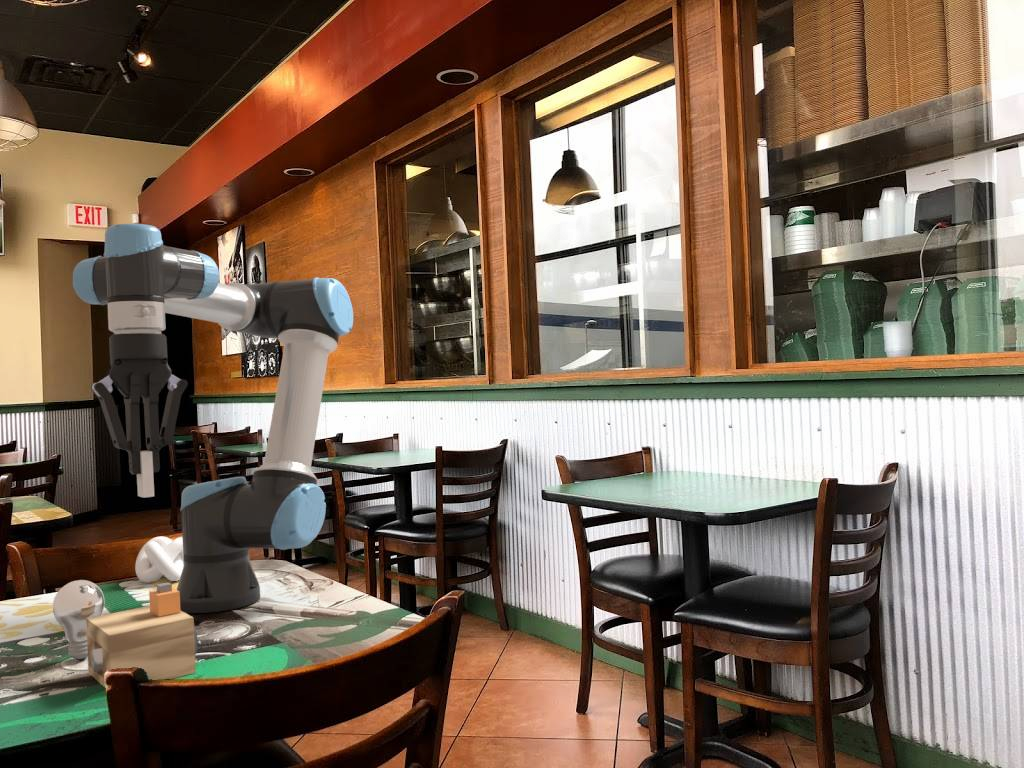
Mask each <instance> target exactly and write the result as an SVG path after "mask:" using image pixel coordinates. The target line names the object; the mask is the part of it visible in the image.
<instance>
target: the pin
mask: <svg viewBox="0 0 1024 768" xmlns="http://www.w3.org/2000/svg"><path fill="white" fill-rule="evenodd" d="M194 640H195V656H196V655H197V652H198V644H199V643H198V642H199V641H198V634H197V630H196V627H195V625H194ZM91 663H92V668H93V670H94V672H98V671H102V670H103V654H102V648H99V649H94V650H92V652H91Z"/></svg>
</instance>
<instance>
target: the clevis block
mask: <svg viewBox="0 0 1024 768" xmlns="http://www.w3.org/2000/svg"><path fill="white" fill-rule="evenodd" d="M194 619H195V618H194V617H193V615H192V616H191V615H190V614H188V613H187V612H182V611H181V610H180V612H179V613H174V614H170V615H165V616H160V617H159V616H157V615H155V614H153V613H152V612H150V605H147V606H140V607H136V608H135V607H134V608H130V609H127V610H121V611H117V612H112V613H111V612H110V613H105V614H101V615H100V616H95V617H90V618H86V624H87V649H88V657H87V668H88V671H87V672H88V674H89V675H90V676H91V677H93V678H94V679H95V680H96V681H97V682H98V683H99V684H100V685H101V686H102V685H103V686H102V687H103V688H104V673H105V672H106V671H107V670H111V669H116V668H132V667H138V668H142V669H144V670H146V672H147V675H148V677H149V678H150V679H152V680H158V679H169V680H173V679H176V678H180V677H185V676H187V675H192V674H196V672H197V671H196V669H197V667H196V655H195V640H194V626H195V620H194ZM99 648H102V654H103V670H102V671H98V672H94V670H93V668H92V663H91V652H92V650H94V649H99Z"/></svg>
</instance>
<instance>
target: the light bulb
mask: <svg viewBox="0 0 1024 768" xmlns="http://www.w3.org/2000/svg"><path fill="white" fill-rule="evenodd" d="M105 599H106V598H105V596H104V592H103V591H102V588H101V587H99V586H98V585H97V584H96V583H94V582H92V581H90V580H88V579H87V580H86V579H79V580H73V581H70V582H68V583H66V584H65V585H63V586H62V587H61V588H60V589H59V590H58V591H57V593H56V595H55V596H54V598H53V601H52V614H53V616H54V618H55V620H56V622H58V624H59V625H60V627H61V628H62V630H63V632H64V635H65V638H66V640H67V641H68V644H67V647H68V648H67V650H68V655H69V656H70V657H71V658H72V659H74V660H75V661H77V662H82V661H85V660H87V659H88V649H87V624H86V618H90V617H95V616H100V615H103V611H104V608H105V602H106V600H105Z"/></svg>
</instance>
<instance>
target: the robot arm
mask: <svg viewBox="0 0 1024 768" xmlns="http://www.w3.org/2000/svg"><path fill="white" fill-rule="evenodd" d="M103 251H104V253H103V256H102V255H98V256H95V257H90V258H86V259H82V260H81V261H80V262H78V263H77V264H76V265H75V266H74V270H73V272H72V287H73V289H74V291H75V293H76V295H77V296H78V298H79V299H80V300H82V301H83V302H84V303H86V304H89V305H101V306H106V305H107V320H108V321H107V322H108V324H107V325H108V331H110V332H112V333H113V334H112V335H110V337H108V339H109V341H108V343H109V358H110V359H109V360H110V361H109V362H110V365H109V368H108V369H107V372H106V375H107V376H105V377H104V378H102V379H101V380H99V381H98V382H93V383H91V385H90V390H91V391H92V392H93V393H94V395H95V396H96V397H97V398H98V400H99V404H100V406H101V409H102V413H103V416H104V419H105V422H106V425H107V430H108V431H109V435H110V436H111V441H112V444H113V446H114V447H115V448H116V449H119V450H120V449H121V450H123V451H126V452H127V453H128V466H129V468H128V469H129V473H130V475H136V485H137V497H140V498H152V497H155V483H154V480H155V479H154V473H159V472H160V469H161V461H160V460H161V459H160V450H161V449H162V448H164V447H166V446H168V445H171V444H173V441H174V435H175V430H176V424H177V419H178V415H179V409H180V405H181V399H182V395H183V393H184V392H185V390H186V389H187V387H188V386H189V385H188V383H189V382H188V380H187V379H181V378H179V377H177V376H176V375H174V374H172V369H171V367H170V365H169V364H168V343H167V341H168V340H167V336H166V335H165V334H163V333H162V332H163V331H165V330H167V329H166V327H167V326H166V314H170V315H175V316H181V317H187V318H190V319H197V320H201V321H207V322H212V323H216V324H218V325H219V326H220V327H221V328H223V329H225V330H227V331H231V332H237V333H241V334H246V335H251V336H255V337H260V338H266V339H275V340H276V339H278V342H279V343H280V344H281V345H282V346H283V352H282V353H283V354H282V359H281V364H280V368H279V369H280V371H279V374H278V375H279V376H278V380H277V381H278V382H277V388H276V392H275V398H274V404H273V409H272V410H273V411H272V415H271V416H272V417H271V420H270V421H271V422H270V425H269V426H270V427H269V431H268V438H267V439H268V440H267V444H266V449H265V454H264V455H265V456H264V460H263V464H262V465H259V467H257V468H256V469H254V470H253V474H252V479H251V484H248V481H247V479H246V476H234V477H229V478H224V479H223V478H222V479H217V480H212V481H206V482H200V483H195V484H191V485H188V486H186V487H185V488H184V489H183V490H182V492H181V502H180V504H181V505H180V510H179V511H180V516H181V517H180V519H181V531H182V532H181V533H182V534H181V535H182V536H181V537H182V539H183V557H184V565H183V570H182V573H181V577H180V580H179V581H178V584H177V587H176V590H178V591H180V610H181V611H182V612H184V613H186V614H188V613H189V614H209V613H219V612H226V611H231V610H235V609H239V608H240V609H241V608H244V607H246V606H250V605H253V604H254V603H257V601H259V600H260V599H261V586H260V583H259V581H258V578H257V576H256V573H255V570H254V568H253V564H252V562H251V559H250V552H249V551H250V550H249V549H277V550H278V549H279V550H283V551H286V550H289V549H301V548H304V547H306V546H308V545H310V544H311V543H312V542H313V541H314V540H315V539H316V538H317V536H318V535H319V533H320V532H321V529H322V526H323V524H324V521H325V519H326V508H327V504H326V502H325V500H326V497H325V493H324V491H323V490H322V488H321V487H320V486H318V485H317V483H318V478H317V476H316V475H315V474H314V472H313V471H312V469H311V468H312V462H313V455H314V449H315V445H316V444H315V442H316V437H317V430H318V429H317V428H318V423H319V417H320V410H321V404H322V397H323V391H324V386H325V378H326V371H327V366H328V365H327V364H328V358H329V355H330V354H332V353H333V352H335V351H336V350H337V349H338V345H339V340H340V337H343V336H345V335H349V333H350V331H352V329H353V324H354V310H353V305H352V302H351V298H350V295H349V293H348V291H347V289H346V287H345V286H344V285H343V283H341V281H339V280H338V279H336V278H332V277H322V278H320V277H317V276H316V277H314V278H307V279H297V280H285V281H270V282H263V283H253V284H251V283H250V284H249V283H248V284H244V283H242V282H241V283H240V282H237V281H236V282H230V283H227V284H225V283H221V282H220V271H219V267H218V265H217V263H216V262H215V260H214V259H213V258H212V257H211V256H209V255H207V254H204V253H202V252H199V251H196V250H194V249H191V250H188V249H182V248H180V247H179V248H177V247H172V246H169V245H168V246H167V245H164V241H163V239H162V233H161V230H160V229H159V228H157V227H156V226H154V225H150V224H145V223H144V224H143V223H119V224H118V223H117V224H113V225H110V226H108V227H107V228H106V230H105V233H104V250H103ZM166 384H167V390H168V393H167V396H166V400H165V406H164V411H163V415H162V422H161V425H160V421H159V402H160V401H159V400H160V399H159V398H160V397H159V394H160V393H161V391H162V390H163V388H164V387H165V385H166ZM112 385H113V386H114V387H115V388H116V389H117V390H118V391H119V393H120V394H121V395H122V396H123V403H124V407H125V408H124V409H125V429H126V433H125V432H124V427H123V425H122V421H121V418H120V415H119V411H118V409H117V406H116V403H115V400H114V397H113V395H112V394H111V393H113V390H114V389H113V386H112ZM141 398H142V404H143V411H144V412H143V413H144V429H145V430H144V431H145V433H144V435H145V446H146V450H141V449H142V441H141V421H140V419H141V417H140V404H141V403H140V402H141Z"/></svg>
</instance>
